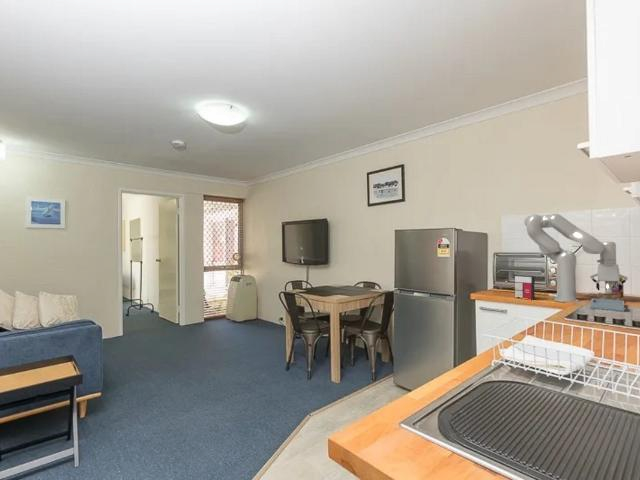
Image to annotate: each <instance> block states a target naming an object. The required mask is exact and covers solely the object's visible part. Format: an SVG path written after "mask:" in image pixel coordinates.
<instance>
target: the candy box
mask: <svg viewBox="0 0 640 480" xmlns="http://www.w3.org/2000/svg"><path fill="white" fill-rule="evenodd" d="M623 280H624V278H622V277H620V280H619V281H621V282H622V281H623ZM618 285H619V283H618V282H617V281H613V282H612V294H619V295H620V299H624V298H625V297H624V293H625V292H624V283H623V284H622V290H620V292H619V287H618Z"/></svg>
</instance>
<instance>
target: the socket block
mask: <svg viewBox="0 0 640 480" xmlns="http://www.w3.org/2000/svg"><path fill="white" fill-rule="evenodd" d="M597 299H608V300H621V298H620V295H619V294H612V295H605V292H604V293H603V292H602V293H601V292H599V293H597Z"/></svg>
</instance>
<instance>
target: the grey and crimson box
mask: <svg viewBox="0 0 640 480" xmlns="http://www.w3.org/2000/svg"><path fill="white" fill-rule="evenodd" d="M513 277H514V298H515V297H521V298H528V299H534V300H535V282H536V280H535V279H536V277H535V276H534V275H522V274H521V275H519V274H518V275H514V276H513ZM528 299H527V300H528Z"/></svg>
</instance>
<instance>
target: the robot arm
mask: <svg viewBox="0 0 640 480" xmlns="http://www.w3.org/2000/svg"><path fill="white" fill-rule="evenodd" d="M523 221H524V225H525V227H526V232H527V235H528V236H529V238H530V239H531V240H532V241H533V242H534V243H535V244H536V245H538V248H539V251H540V252H541V253H542V254H544V256H546V257H547V258H549V259H550V260H551V261H552V262H553V263H555V264H556V265H557V266H556V293H548V297H549V298H554V299H553V300H554V301H555V302H560V303H565V302H579V301H580V300H579V299H577V296H576V294H577V292H576V291H577V287H576V286H577V284H576V283H577V282H576V279H577V277H576V267H577V256H576V254H575V253H574V252H572V251H571V250H565V249H564V248H562V247H561V245H560V243H559V241H558V240H556V239H555V238H553V237H552V236H551V235H549V234H548V233H547V232H546V231H545V230H544V229H549V228H552V229H554V230H555V231H557V232H558V233H560V234H561V235H562V236H563V237H565V238H566V239H568V240H571V241H574V242H576V243H578V244H580V245H581V246H582V250H583V252H585V253H586V254H590V255H599V259H598V260H597V259H596V263H599V264H598V265H597V273H595V274H592V275H590V279H591V280H592V282H594V283H595V285H596V286H595V287H596V289H597V291H600V289H601V287H600V282H605V281H617V282H618V283H619V285H618V287H619V292H620V290H622V284H623V285H624V284H625V283H626V282H627V280H628V279H629V278H628V276H625V275H623V274H620V268H619V264H617V243H616V242H614V241H600V240H599V239H597V238H595V236H593V235H591V234H590V233H589V232H586V231H585V230H584V229H582V228H579V227H578V226H576V225H575V224H573V223H572V222H570V221H569V220H568V219H567V218H565V217H564V216H562V215H561V214H559V213H551V214H545V215H542V214H541V215H539V214H535V213H534V214H530V215H528V216H527V217H525V218H524V220H523ZM595 277H597V280H596V279H595ZM620 277H622V278H623V281H622V282H621V281H619V280H620Z"/></svg>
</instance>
